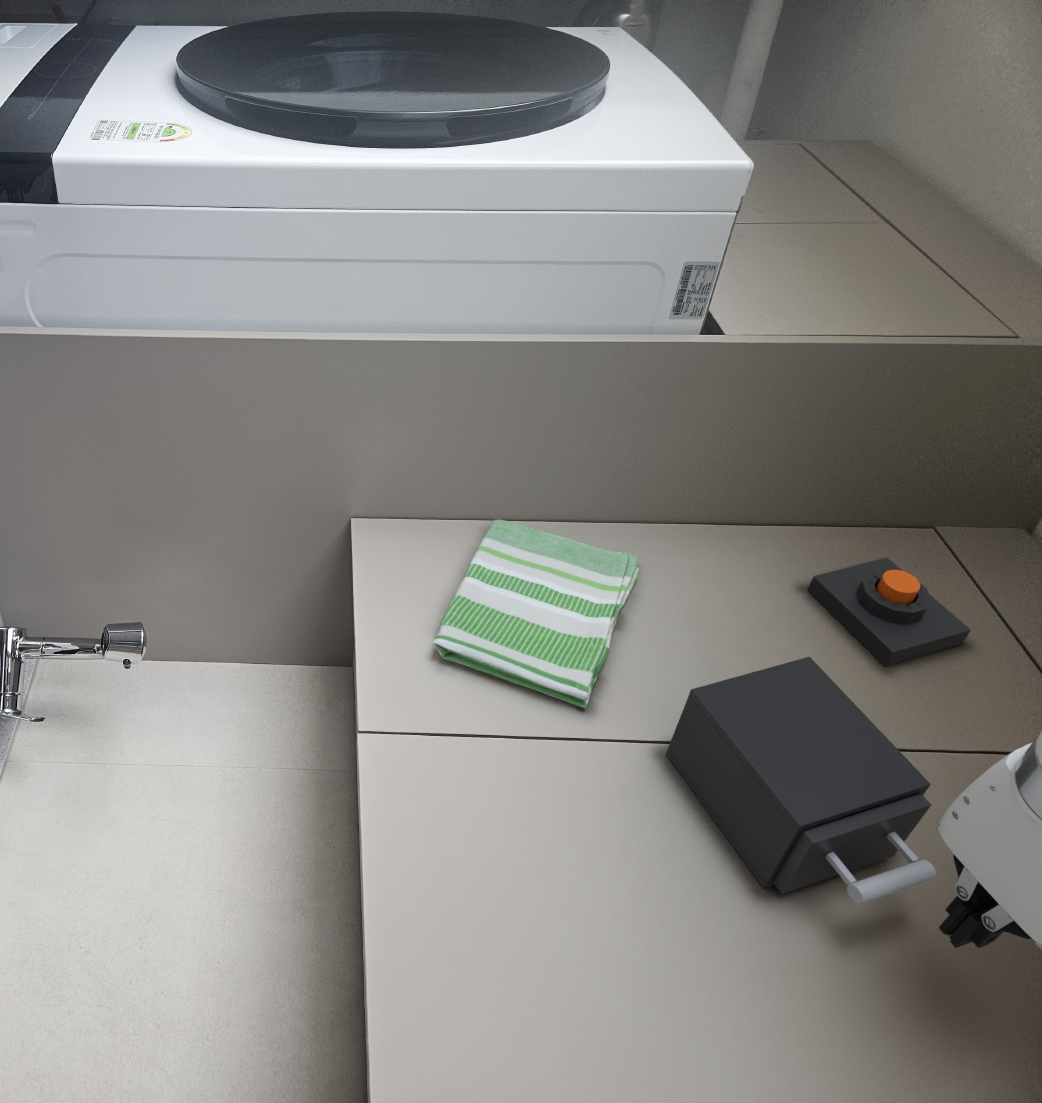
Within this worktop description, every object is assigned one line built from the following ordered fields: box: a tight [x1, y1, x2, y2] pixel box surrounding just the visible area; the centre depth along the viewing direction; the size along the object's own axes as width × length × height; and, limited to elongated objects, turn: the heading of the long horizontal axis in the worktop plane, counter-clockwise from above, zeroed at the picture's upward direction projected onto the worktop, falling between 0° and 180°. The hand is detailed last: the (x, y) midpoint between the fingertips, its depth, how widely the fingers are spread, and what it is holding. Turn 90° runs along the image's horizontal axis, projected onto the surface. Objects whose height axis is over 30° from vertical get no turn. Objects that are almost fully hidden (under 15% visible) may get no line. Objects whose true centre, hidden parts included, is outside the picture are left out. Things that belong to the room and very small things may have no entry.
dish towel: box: [432, 519, 640, 709], centre depth 105 cm, size 18×23×3 cm
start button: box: [877, 570, 921, 604], centre depth 102 cm, size 4×4×2 cm
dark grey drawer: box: [773, 793, 937, 905], centre depth 82 cm, size 18×11×8 cm, turn 18°
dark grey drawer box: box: [665, 656, 932, 889], centre depth 84 cm, size 15×13×10 cm
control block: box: [806, 556, 972, 667], centre depth 103 cm, size 12×10×4 cm
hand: (963, 932), depth 70 cm, fingers closed
